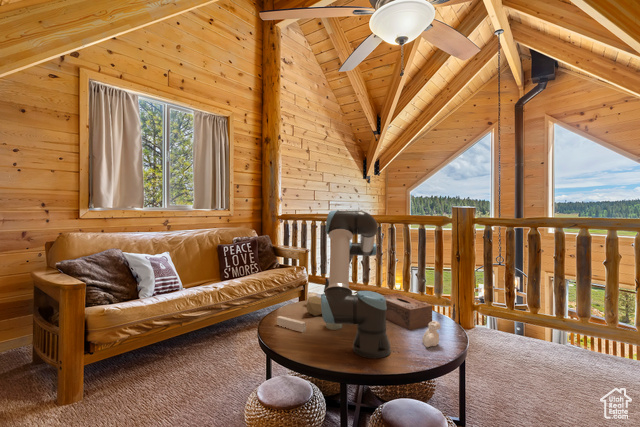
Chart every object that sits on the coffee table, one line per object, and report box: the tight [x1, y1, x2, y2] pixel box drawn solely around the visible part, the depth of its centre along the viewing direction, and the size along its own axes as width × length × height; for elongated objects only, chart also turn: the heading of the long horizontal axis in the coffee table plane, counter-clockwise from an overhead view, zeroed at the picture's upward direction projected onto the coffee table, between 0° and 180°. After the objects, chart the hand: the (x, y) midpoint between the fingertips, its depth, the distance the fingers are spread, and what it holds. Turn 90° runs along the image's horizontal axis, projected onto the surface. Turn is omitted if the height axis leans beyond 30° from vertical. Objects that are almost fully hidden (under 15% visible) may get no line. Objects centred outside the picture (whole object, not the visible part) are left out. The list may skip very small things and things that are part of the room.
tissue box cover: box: [383, 293, 433, 331], centre depth 168 cm, size 26×14×10 cm, turn 27°
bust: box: [421, 320, 442, 348], centre depth 137 cm, size 12×8×11 cm
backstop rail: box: [276, 315, 307, 333], centre depth 155 cm, size 2×16×4 cm, turn 56°
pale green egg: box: [325, 322, 343, 331], centre depth 157 cm, size 8×8×9 cm
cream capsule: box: [306, 292, 318, 303], centre depth 191 cm, size 6×6×7 cm
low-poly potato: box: [305, 295, 322, 317], centre depth 175 cm, size 15×11×12 cm
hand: (324, 305), depth 180 cm, fingers closed
